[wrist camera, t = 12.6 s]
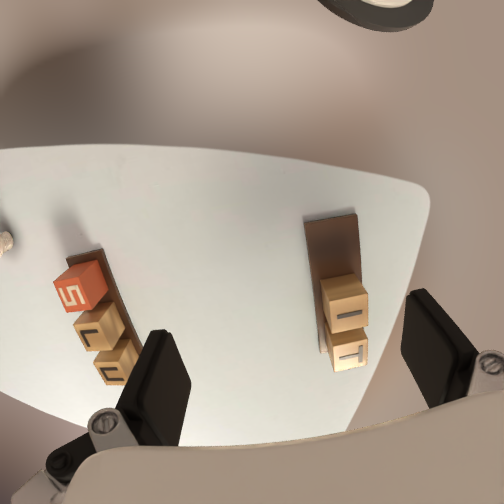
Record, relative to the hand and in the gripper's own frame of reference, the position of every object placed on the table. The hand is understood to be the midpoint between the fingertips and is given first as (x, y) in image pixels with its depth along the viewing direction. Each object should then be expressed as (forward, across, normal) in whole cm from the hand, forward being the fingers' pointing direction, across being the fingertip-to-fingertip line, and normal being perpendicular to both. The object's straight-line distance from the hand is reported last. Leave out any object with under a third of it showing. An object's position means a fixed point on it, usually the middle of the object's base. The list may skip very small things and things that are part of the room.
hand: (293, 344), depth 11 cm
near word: (+23, -6, +12) cm, 26 cm away
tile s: (+22, +24, +5) cm, 33 cm away
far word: (+22, +24, +10) cm, 34 cm away
